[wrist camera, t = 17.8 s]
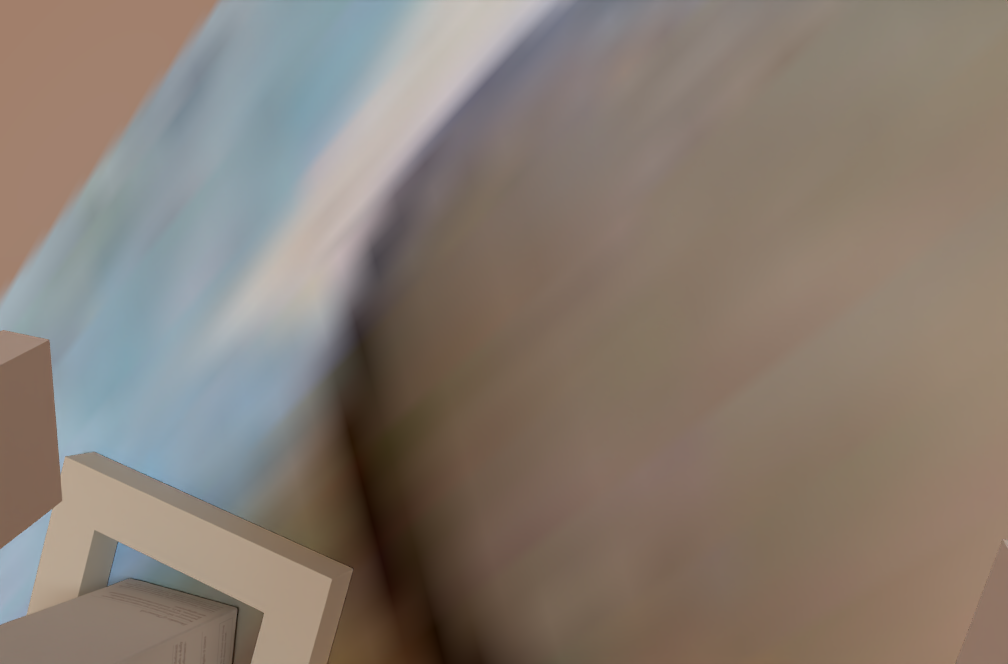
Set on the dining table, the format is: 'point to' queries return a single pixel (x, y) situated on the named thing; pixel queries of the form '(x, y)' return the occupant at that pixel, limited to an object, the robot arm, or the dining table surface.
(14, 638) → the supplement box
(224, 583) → the hole board
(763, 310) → the dining table surface
